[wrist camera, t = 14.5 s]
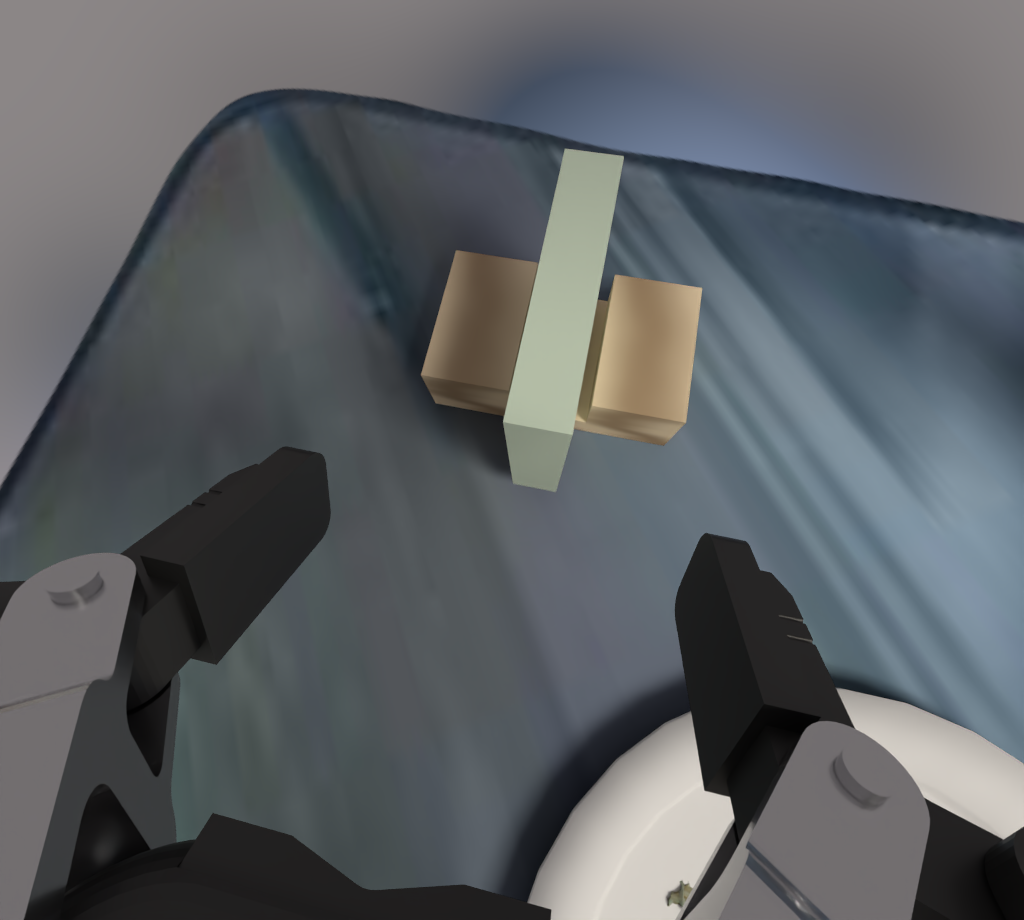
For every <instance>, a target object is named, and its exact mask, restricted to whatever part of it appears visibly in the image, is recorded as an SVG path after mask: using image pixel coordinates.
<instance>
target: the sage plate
mask: <svg viewBox="0 0 1024 920" xmlns="http://www.w3.org/2000/svg"><path fill="white" fill-rule="evenodd" d="M623 160H624V156H618V155H610V154H602V153H595V152H587V151H580V150H572V149H565V151H564V156H563V160H562V164H561V169H560V173H559V178H558V182H557V186H556V191H555V195H554V200H553V204H552V208H551V213H550V217H549V222H548V226H547V230H546V235H545V239H544V244H543V248H542V252H541V257H540V261H539V266H538V270H537V274H536V279H535V283H534V288H533V292H532V296H531V301H530V305H529V310H528V314H527V318H526V323H525V327H524V332H523V336H522V341H521V345H520V349H519V354H518V358H517V363H516V367H515V371H514V376H513V380H512V385H511V389H510V393H509V398H508V402H507V407H506V411H505V415H504V420H503V425H504V431H505V437H506V443H507V450H508V456H509V462H510V468H511V474H512V480H513V484H518V485H523V486H528V487H533V488H538V489H543V490H548V491H553V492H556V490H557V487H558V483H559V480H560V476H561V473H562V469H563V466H564V462H565V459H566V456H567V452H568V449H569V445H570V442H571V438H572V435H573V429H574V424H575V419H576V413H577V408H578V402H579V397H580V392H581V386H582V381H583V375H584V370H585V365H586V359H587V354H588V348H589V343H590V338H591V332H592V327H593V321H594V316H595V311H596V305H597V300H598V294H599V289H600V284H601V278H602V273H603V267H604V262H605V257H606V251H607V246H608V240H609V235H610V230H611V224H612V219H613V213H614V208H615V203H616V197H617V192H618V186H619V181H620V176H621V170H622V165H623Z"/></svg>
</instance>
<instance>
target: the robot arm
mask: <svg viewBox="0 0 1024 920" xmlns="http://www.w3.org/2000/svg"><path fill="white" fill-rule="evenodd" d="M330 514H331V511H330V500H329V490H328V480H327V470H326V462H325V458H324V457H323V455H322V454H320V453H316V452H311V451H306V450H301V449H296V448H292V447H282V448H280V449H279V450H277V451H276V452H275V453H273V454H272V455H271V456H270V457H268V458H267V459H266V460H264V461H263V462H262V463H260V464H259V465H258V464H254V465H252V466H249V467H247V468H244V469H242V470H240V471H237V472H235V473H232V474H230V475H228V476H227V477H225V478H224V479H223V480H221V481H220V482H219V483H217V484H216V485H214V486H213V487H212V488H210V489H209V492H208V493H206V492H205V493H203V494H202V495H201V496H199V497H198V498H197V499H195V500H194V501H193V502H192V505H187V506H186V507H184V508H183V509H182V510H180V511H179V512H177V513H176V514H175V515H173V516H172V517H171V518H169V519H168V520H166V521H165V522H164V523H162V524H161V525H160V526H158V527H157V528H155V529H154V530H153V531H151V532H150V533H149V534H147V535H146V536H144V537H143V538H142V539H140V540H139V541H138V542H136V543H135V544H133V545H132V546H131V547H129V548H128V549H127V550H125V551H124V552H123V553H121V554H116V553H94V554H87V555H82V556H78V557H74V558H71V559H67V560H64V561H62V562H59V563H57V564H54V565H52V566H50V567H48V568H46V569H44V570H42V571H40V572H39V573H37V574H35V575H34V576H32V577H31V578H29V579H28V580H27V581H16V582H0V920H551V909H548V908H544V907H541V906H537V905H534V904H530V903H527V902H523V901H520V900H516V899H513V898H509V897H506V896H502V895H499V894H495V893H492V892H488V891H485V890H481V889H478V888H474V887H471V886H467V885H450V886H434V887H419V888H404V889H388V890H368V889H364V888H362V887H360V886H358V885H357V884H356V883H354V882H353V881H352V880H350V879H349V878H348V877H346V876H345V875H344V874H342V873H341V872H340V871H338V870H337V869H336V868H334V867H333V866H332V865H330V864H329V863H328V862H326V861H325V860H324V859H322V858H321V857H320V856H318V855H317V854H316V853H314V852H313V851H312V850H310V849H309V848H308V847H306V846H305V845H304V844H302V843H301V842H300V841H298V840H297V839H296V838H294V837H293V836H291V835H288V834H284V833H281V832H277V831H274V830H270V829H267V828H263V827H260V826H256V825H253V824H249V823H246V822H242V821H239V820H235V819H232V818H228V817H225V816H221V815H218V814H214V813H213V814H212V815H211V817H210V818H209V820H208V822H207V823H206V825H205V826H204V828H203V829H202V831H201V832H200V834H199V836H198V837H197V839H196V840H188V841H183V842H178V843H176V824H175V816H174V811H173V806H172V798H171V779H172V768H173V758H174V747H175V736H176V725H177V715H178V704H179V693H180V676H179V673H178V671H179V670H180V669H181V668H182V667H183V666H184V665H185V663H186V662H187V661H188V660H189V659H190V658H192V659H196V660H200V661H204V662H208V663H212V664H216V665H217V664H218V662H219V661H220V660H221V659H222V658H223V656H224V655H225V654H226V653H227V652H228V650H229V649H230V648H231V647H232V646H233V645H234V643H235V642H236V641H237V640H238V639H239V637H240V636H241V635H242V634H243V633H244V631H245V630H246V629H247V628H248V627H249V625H250V624H251V623H252V622H253V621H254V619H255V618H256V617H257V616H258V615H259V613H260V612H261V611H262V610H263V609H264V607H265V606H266V605H267V604H268V603H269V602H270V600H271V599H272V598H273V597H274V596H275V594H276V593H277V592H278V591H279V590H280V588H281V587H282V586H283V585H284V584H285V582H286V581H287V580H288V579H289V578H290V576H291V575H292V574H293V573H294V572H295V570H296V569H297V568H298V567H299V566H300V565H301V563H302V562H303V561H304V560H305V559H306V557H307V556H308V555H309V554H310V553H311V551H312V550H313V549H314V548H315V547H316V545H317V544H318V543H319V542H320V541H321V539H322V538H323V536H324V535H325V533H326V531H327V528H328V525H329V521H330ZM675 620H676V626H677V632H678V638H679V644H680V650H681V655H682V661H683V667H684V673H685V679H686V685H687V691H688V697H689V703H690V709H691V715H692V721H693V727H694V733H695V738H696V744H697V750H698V756H699V762H700V768H701V774H702V780H703V786H704V791H707V792H711V793H715V794H719V795H723V796H727V797H730V799H731V804H732V809H733V814H734V819H733V820H732V821H731V823H730V824H729V825H728V827H727V829H726V830H725V832H724V834H723V836H722V837H721V839H720V841H719V843H718V845H717V846H716V848H715V850H714V852H713V853H712V855H711V857H710V859H709V861H708V862H707V864H706V866H705V868H704V870H703V871H702V873H701V875H700V877H699V878H698V880H697V882H696V884H695V886H694V887H693V889H692V891H691V893H690V894H689V896H688V898H687V900H686V902H685V903H684V905H683V907H682V909H681V910H680V912H679V914H678V916H677V918H676V919H675V920H1024V827H1022V828H1020V829H1019V830H1017V831H1016V832H1014V833H1013V834H1011V835H1010V836H1008V837H1007V838H1005V839H1002V838H1000V837H998V836H996V835H994V834H992V833H990V832H988V831H987V830H985V829H983V828H981V827H979V826H977V825H975V824H973V823H971V822H969V821H967V820H965V819H964V818H962V817H960V816H958V815H956V814H954V813H952V812H950V811H948V810H946V809H944V808H942V807H941V806H939V805H937V804H935V803H933V802H931V801H929V800H928V799H926V798H924V797H923V795H922V793H921V791H920V789H919V787H918V786H917V784H916V783H915V781H914V779H913V778H912V777H911V775H910V774H909V773H908V771H907V770H906V769H905V768H904V767H903V765H902V764H901V763H900V762H899V761H898V760H897V759H896V758H895V757H894V756H893V755H892V754H891V753H890V752H889V751H887V750H886V749H885V748H884V747H883V746H881V745H880V744H879V743H877V742H876V741H875V740H873V739H872V738H870V737H869V736H867V735H866V734H864V733H862V732H860V731H858V730H856V729H855V727H854V725H853V723H852V721H851V719H850V717H849V715H848V713H847V710H846V708H845V706H844V704H843V702H842V700H841V698H840V696H839V694H838V691H837V689H836V687H835V685H834V683H833V681H832V679H831V677H830V675H829V672H828V670H827V668H826V666H825V664H824V662H823V660H822V658H821V656H820V654H819V651H818V649H817V647H816V645H813V644H812V641H813V639H812V637H811V635H810V632H809V630H808V628H807V626H806V624H803V618H802V616H801V613H800V611H799V609H798V607H797V605H796V603H795V601H794V599H793V597H792V595H791V594H790V593H789V592H788V591H787V589H786V588H785V587H784V586H783V585H782V584H781V583H780V582H779V581H778V580H777V579H776V578H775V576H774V575H773V574H772V573H770V572H765V571H760V569H759V567H758V565H757V562H756V560H755V558H754V555H753V553H752V550H751V548H750V546H749V544H748V543H747V542H746V541H743V540H738V539H733V538H728V537H723V536H718V535H713V534H708V533H705V534H704V535H703V536H702V537H701V538H700V540H699V542H698V544H697V547H696V549H695V551H694V554H693V556H692V558H691V561H690V563H689V565H688V568H687V570H686V572H685V575H684V577H683V579H682V581H681V584H680V586H679V589H678V592H677V596H676V603H675Z"/></svg>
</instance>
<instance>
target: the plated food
mask: <svg viewBox="0 0 1024 920" xmlns="http://www.w3.org/2000/svg"><path fill="white" fill-rule="evenodd" d="M836 689H837V691H838V694H839V696H840V698H841V700H842V702H843V704H844V706H845V708H846V710H847V713H848V715H849V717H850V719H851V721H852V723H853V725H854V727H855V729H856V730H858V731H860V732H862V733H864V734H866V735H867V736H869V737H870V738H872V739H873V740H875V741H876V742H877V743H879V744H880V745H881V746H883V747H884V748H885V749H886V750H887V751H889V752H890V753H891V754H892V755H893V756H894V757H895V758H896V759H897V760H898V761H899V762H900V763H901V764H902V765H903V767H904V768H905V769H906V770H907V771H908V773H909V774H910V775H911V777H912V778H913V779H914V781H915V783H916V784H917V786H918V787H919V789H920V791H921V793H922V795H923V797H924V798H926V799H928V800H929V801H931V802H933V803H935V804H937V805H939V806H941V807H942V808H944V809H946V810H948V811H950V812H952V813H954V814H956V815H958V816H960V817H962V818H964V819H965V820H967V821H969V822H971V823H973V824H975V825H977V826H979V827H981V828H983V829H985V830H987V831H988V832H990V833H992V834H994V835H996V836H998V837H1000V838H1002V839H1005V838H1007V837H1008V836H1010V835H1011V834H1013V833H1014V832H1016V831H1017V830H1019V829H1020V828H1022V827H1024V764H1023V763H1022V762H1020V761H1019V760H1017V759H1015V758H1014V757H1012V756H1011V755H1009V754H1008V753H1006V752H1005V751H1003V750H1001V749H1000V748H998V747H997V746H995V745H994V744H992V743H990V742H989V741H987V740H986V739H984V738H983V737H981V736H980V735H978V734H976V733H975V732H973V731H971V730H968V729H966V728H964V727H961V726H959V725H957V724H954V723H952V722H950V721H947V720H945V719H943V718H940V717H938V716H936V715H933V714H931V713H929V712H926V711H924V710H922V709H919V708H917V707H914V706H912V705H910V704H907V703H904V702H900V701H895V700H891V699H886V698H882V697H878V696H873V695H869V694H864V693H860V692H855V691H851V690H846V689H842V688H836ZM733 819H734V814H733V809H732V804H731V799H730V797H727V796H723V795H719V794H715V793H711V792H707V791H704V786H703V780H702V774H701V768H700V762H699V756H698V750H697V744H696V738H695V733H694V727H693V721H692V715H691V711H690V712H688V713H685V714H683V715H681V716H679V717H676V718H674V719H672V720H670V721H667V722H665V723H664V724H662V725H661V726H660V727H658V728H657V729H656V730H654V731H653V732H652V733H650V734H649V735H648V736H646V737H645V738H644V739H642V740H641V741H640V742H638V743H637V744H636V745H634V746H633V747H632V748H630V749H629V750H628V751H626V752H625V753H624V754H622V755H621V756H620V757H618V758H617V759H616V760H615V761H614V762H613V763H612V764H611V766H610V767H609V768H608V769H607V770H606V771H605V772H604V774H603V775H602V776H601V777H600V778H599V779H598V781H597V782H596V783H595V784H594V785H593V786H592V787H591V789H590V790H589V791H588V792H587V793H586V794H585V796H584V797H583V798H582V799H581V800H580V801H579V802H578V804H577V805H576V806H575V807H574V808H573V810H572V812H571V813H570V815H569V817H568V819H567V820H566V822H565V824H564V826H563V827H562V829H561V831H560V833H559V834H558V836H557V838H556V840H555V842H554V843H553V845H552V847H551V849H550V850H549V852H548V854H547V856H546V857H545V859H544V861H543V863H542V864H541V866H540V868H539V870H538V872H537V875H536V878H535V881H534V884H533V887H532V890H531V893H530V895H529V898H528V901H527V903H530V904H534V905H537V906H541V907H544V908H548V909H551V920H675V919H676V918H677V916H678V914H679V912H680V910H681V909H682V907H683V905H684V903H685V902H686V900H687V898H688V896H689V894H690V893H691V891H692V889H693V887H694V886H695V884H696V882H697V880H698V878H699V877H700V875H701V873H702V871H703V870H704V868H705V866H706V864H707V862H708V861H709V859H710V857H711V855H712V853H713V852H714V850H715V848H716V846H717V845H718V843H719V841H720V839H721V837H722V836H723V834H724V832H725V830H726V829H727V827H728V825H729V824H730V823H731V821H732V820H733Z"/></svg>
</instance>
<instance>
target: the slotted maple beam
mask: <svg viewBox="0 0 1024 920" xmlns="http://www.w3.org/2000/svg"><path fill="white" fill-rule="evenodd" d="M537 270H538V263H536V262H530V261H523V260H517V259H510V258H504V257H497V256H491V255H484V254H478V253H471V252H465V251H458V250H456V253H455V256H454V260H453V263H452V267H451V271H450V274H449V278H448V281H447V285H446V288H445V292H444V295H443V299H442V302H441V306H440V309H439V313H438V316H437V320H436V323H435V327H434V331H433V334H432V338H431V341H430V345H429V348H428V352H427V355H426V359H425V362H424V366H423V369H422V373H421V376H422V378H423V380H424V382H425V384H426V386H427V388H428V389H429V391H430V393H431V395H432V397H433V399H434V401H435V403H437V404H442V405H447V406H453V407H458V408H463V409H469V410H474V411H480V412H485V413H490V414H496V415H501V416H504V415H505V411H506V407H507V402H508V398H509V393H510V389H511V385H512V380H513V376H514V371H515V367H516V363H517V358H518V354H519V349H520V345H521V341H522V336H523V332H524V327H525V323H526V318H527V314H528V310H529V305H530V301H531V296H532V292H533V288H534V283H535V279H536V274H537ZM701 294H702V288H698V287H692V286H685V285H679V284H673V283H666V282H660V281H653V280H647V279H640V278H634V277H627V276H621V275H615V277H614V281H613V284H612V288H611V292H610V295H609V299H608V301H603V300H597V305H596V311H595V316H594V321H593V327H592V332H591V338H590V343H589V348H588V354H587V359H586V365H585V370H584V375H583V381H582V386H581V392H580V397H579V402H578V408H577V413H576V419H575V424H574V429H577V430H582V431H588V432H593V433H598V434H604V435H609V436H614V437H620V438H625V439H631V440H636V441H641V442H647V443H652V444H658V445H663V446H664V445H665V444H666V443H667V442H668V441H669V440H670V439H671V438H672V437H673V435H674V434H675V433H676V432H677V431H678V430H679V429H680V428H681V427H682V426H683V425H684V424H685V423H686V418H687V410H688V401H689V393H690V385H691V377H692V368H693V360H694V352H695V343H696V335H697V327H698V319H699V310H700V302H701Z"/></svg>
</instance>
